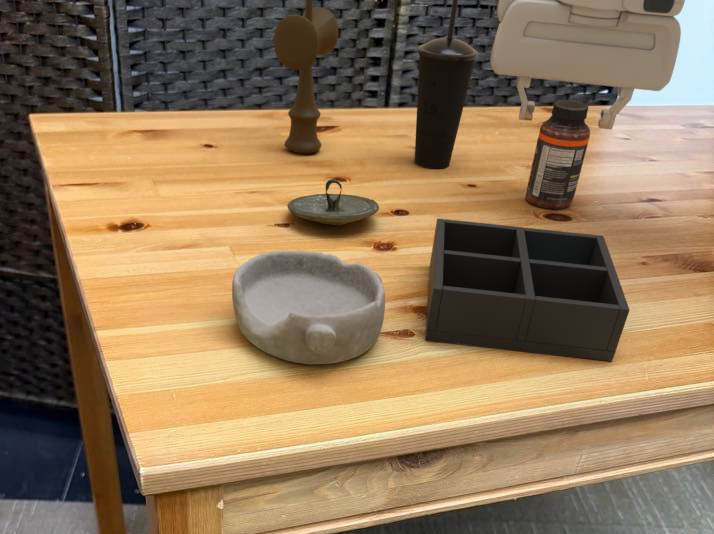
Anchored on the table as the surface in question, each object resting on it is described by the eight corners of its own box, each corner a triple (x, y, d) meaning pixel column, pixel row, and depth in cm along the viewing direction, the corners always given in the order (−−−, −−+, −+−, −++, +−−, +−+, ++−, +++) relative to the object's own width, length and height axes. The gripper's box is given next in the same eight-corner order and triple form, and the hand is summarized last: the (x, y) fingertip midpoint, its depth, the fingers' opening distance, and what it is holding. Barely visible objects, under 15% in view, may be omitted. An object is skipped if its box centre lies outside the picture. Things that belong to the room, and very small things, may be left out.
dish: (339, 387, 67) (344, 332, 64) (200, 340, 72) (198, 286, 68) (410, 320, 77) (417, 269, 73) (283, 282, 81) (285, 233, 78)
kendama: (269, 156, 110) (273, -21, 97) (294, 137, 117) (301, -30, 104) (311, 163, 109) (320, -15, 96) (334, 144, 116) (345, -25, 103)
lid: (333, 257, 90) (348, 216, 86) (267, 211, 92) (278, 169, 89) (384, 235, 97) (399, 195, 93) (321, 192, 99) (333, 152, 96)
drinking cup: (411, 151, 116) (433, -18, 102) (464, 159, 114) (493, -11, 101) (397, 166, 110) (419, -10, 97) (453, 175, 108) (482, -3, 95)
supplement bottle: (530, 190, 106) (552, 94, 98) (576, 199, 104) (602, 102, 97) (518, 204, 102) (541, 104, 94) (565, 214, 100) (592, 113, 92)
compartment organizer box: (589, 282, 85) (603, 235, 82) (612, 361, 73) (629, 309, 69) (429, 265, 86) (437, 218, 83) (425, 340, 74) (433, 288, 71)
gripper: (504, -21, 86) (477, 121, 95) (701, -2, 85) (654, 140, 94) (502, -30, 91) (477, 107, 100) (688, -11, 89) (645, 125, 99)
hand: (564, 123), depth 97 cm, fingers open, 8 cm apart
